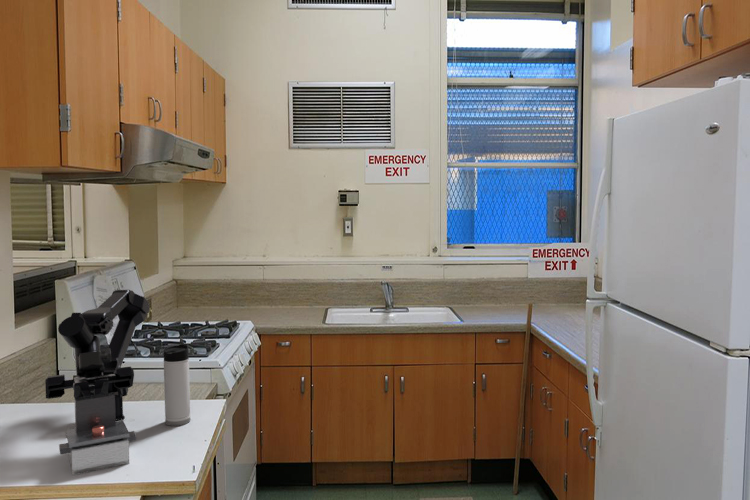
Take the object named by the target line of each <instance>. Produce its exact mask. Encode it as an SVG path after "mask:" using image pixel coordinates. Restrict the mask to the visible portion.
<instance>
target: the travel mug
mask: <svg viewBox="0 0 750 500" xmlns="http://www.w3.org/2000/svg"><path fill="white" fill-rule="evenodd" d="M189 354H190V353H189V346H188V345H187V344H186V343H185V344H184V343H179V344H177V345H171V346H168V347H166V348H164V349H163V378H164V379H163V383H164V385H163V387H164V388H163V390H164V422H165V424H166V426H167V425H168V426H171V427H172V426H173V427H176V426H184V425H186V424H188V423H189V422H190V421H191V392H190V391H191V390H190V388H191V387H190V358H189Z"/></svg>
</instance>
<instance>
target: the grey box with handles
mask: <svg viewBox="0 0 750 500" xmlns="http://www.w3.org/2000/svg"><path fill="white" fill-rule="evenodd" d="M129 435H130V437H127V438H121V439H116V440H110V441H105V442H100V443H94V444H89V445H83V446H78V447H72V448H69V445H68V442H64V443H60V444H58V446H59V454H60V455H64V454H68V455H69V456H68V457H69V458H68V459H69V463H70V468H71V474H72V476H75V475H80V474H84V473H85V474H86V473H90V472H93V471H94V472H95V471H99V470H104V469H105V470H106V469H109V468H113V467H119V466H123V465H128V464H130V443H129V442H133V441H137V434H136V433H135V431H134V430H133V431H132V430H131V431H129Z"/></svg>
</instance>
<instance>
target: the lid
mask: <svg viewBox="0 0 750 500" xmlns="http://www.w3.org/2000/svg"><path fill="white" fill-rule="evenodd" d="M74 417H75V418H74V419H75V420H74V423H75V425H74V426H75V427H74V428H70V429H66V430H65V435H66V439H67V443H68V445H69V448H72V447H78V446H83V445H89V444H94V443H100V442H105V441H110V440H116V439H121V438H127V437H130V435H129V432H130V431H129V430H128V427H127V426H126V424H125V422H124V419H121V420H116V415H115V395H114V393H113V392H111V393H104V394H97V395H90V396H83V397H77V398H74Z"/></svg>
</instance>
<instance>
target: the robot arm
mask: <svg viewBox="0 0 750 500" xmlns="http://www.w3.org/2000/svg"><path fill="white" fill-rule="evenodd" d="M149 312H150V302H149V301H148V300H147V299H146V297H145V296H142V295H139V294H137V293H136V292H134V290H130V289H116V290H113V291H112V294H111V295H110V296H109V297H107V299H106V300H104V302H102V303H101V304H100V305H99V306H98V307H96V308H92V309H89V310H85V311H84V312H71V315H70V316H69V317H66V318H65V319H63V321H61V323H59V324H58V328H57V330H58V334H59V335H60V336H61V337H62V338H63V340H64V341H65V342H66V343H67V344H68V346H69V347H71V348H73V349H74V363H75V372H76V373H75V374H76V376H75V377H73V379H66V377H65V374H58V375H57V374H56V375H50V376H47V377H46V378H44V379H45V380H44V382H45V383H44V385H45V386H44V387H45V399H48V400H50V399H57V398H58V399H59V398H61V397H63V396H64V395H65V394H66V393H65V390H69V389H72V391H73V398H74V399H75V398H77V397H83V396H90V395H97V394H104V393H111V392H113V393H114V395H115V415H116V421H121V420H124V419H125V418H126V417H125V415H124V406H123V405H124V403H123V400H124V399H123V397H127V396H128V393H129V389H130V388H131V387H133V384H134V379H135V372H134V368H133V367H132V366H123V367H122V364H123V362H124V360H125V356H126V353H127V351H128V348H129V346H130V343H131V341H132V338H133V335H134V333H135V329H136V328H137V326H139V325H140V324H142V323H144V321H146V320H145V319H146V318H147V316H148V314H149ZM117 316H118V317H117ZM116 317H117V318H118V322H117V325H116V327H115V330H114V332H113V334H112V338H111V339H110V342H109V344H108V346H107V347H106V348H102V349H101V343H100V341H101V340H100V338H99V337H98V336H105V335H109V333H110V332H111V330H112V329H113V327H114V321H113V320H114V319H115V318H116Z"/></svg>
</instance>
